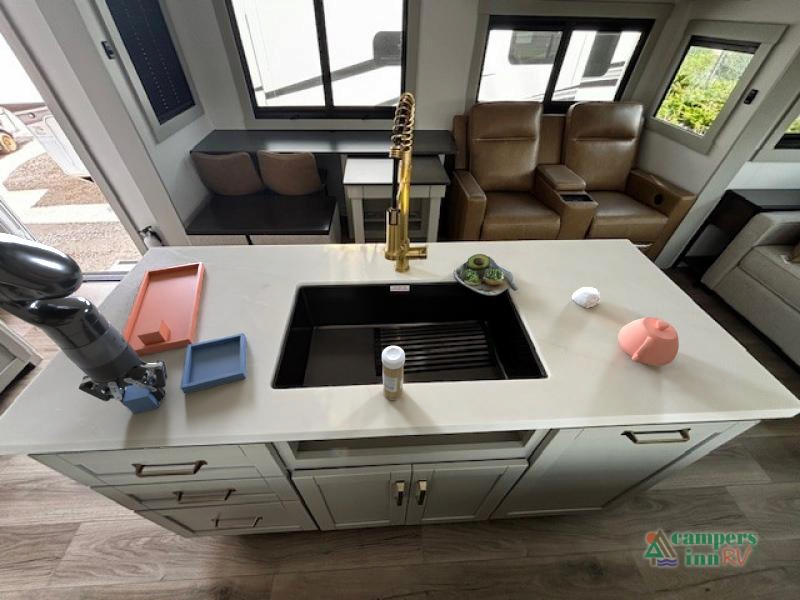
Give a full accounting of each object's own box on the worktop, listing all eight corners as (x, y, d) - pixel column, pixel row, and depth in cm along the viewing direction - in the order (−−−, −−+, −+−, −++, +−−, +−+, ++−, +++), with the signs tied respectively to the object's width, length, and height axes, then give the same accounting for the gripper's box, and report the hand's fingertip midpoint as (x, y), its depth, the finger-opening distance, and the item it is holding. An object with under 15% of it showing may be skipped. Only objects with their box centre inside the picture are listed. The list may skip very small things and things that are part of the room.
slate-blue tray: (184, 393, 70) (180, 388, 69) (191, 350, 79) (187, 344, 78) (246, 378, 74) (243, 373, 72) (246, 338, 82) (243, 332, 81)
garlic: (583, 289, 100) (588, 280, 97) (603, 302, 96) (609, 293, 93) (566, 298, 97) (571, 289, 94) (587, 312, 93) (592, 302, 90)
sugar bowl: (675, 353, 82) (701, 325, 75) (655, 384, 75) (682, 357, 68) (625, 325, 89) (645, 298, 82) (602, 352, 82) (622, 324, 75)
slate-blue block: (134, 413, 67) (121, 402, 64) (139, 395, 70) (127, 383, 67) (158, 407, 68) (148, 396, 65) (162, 389, 71) (152, 377, 68)
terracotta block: (146, 347, 79) (136, 335, 76) (150, 334, 82) (141, 322, 79) (167, 343, 80) (158, 331, 77) (170, 330, 83) (162, 318, 80)
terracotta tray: (119, 360, 76) (114, 354, 75) (149, 276, 100) (145, 270, 98) (192, 344, 80) (189, 339, 79) (204, 267, 104) (202, 261, 102)
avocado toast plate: (529, 283, 102) (534, 271, 99) (497, 309, 93) (501, 297, 89) (479, 256, 112) (482, 245, 109) (446, 277, 103) (447, 265, 100)
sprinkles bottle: (407, 392, 72) (409, 354, 63) (392, 404, 70) (392, 367, 61) (393, 379, 74) (394, 341, 65) (378, 391, 72) (376, 353, 63)
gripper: (40, 377, 53) (103, 427, 64) (141, 355, 56) (183, 406, 68) (59, 343, 58) (113, 395, 69) (150, 325, 62) (188, 377, 73)
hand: (148, 400), depth 69 cm, fingers closed on slate-blue block, 4 cm apart
